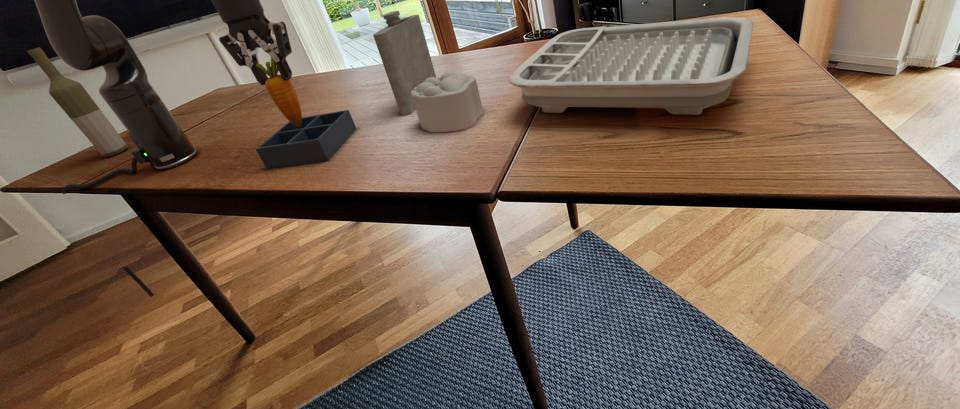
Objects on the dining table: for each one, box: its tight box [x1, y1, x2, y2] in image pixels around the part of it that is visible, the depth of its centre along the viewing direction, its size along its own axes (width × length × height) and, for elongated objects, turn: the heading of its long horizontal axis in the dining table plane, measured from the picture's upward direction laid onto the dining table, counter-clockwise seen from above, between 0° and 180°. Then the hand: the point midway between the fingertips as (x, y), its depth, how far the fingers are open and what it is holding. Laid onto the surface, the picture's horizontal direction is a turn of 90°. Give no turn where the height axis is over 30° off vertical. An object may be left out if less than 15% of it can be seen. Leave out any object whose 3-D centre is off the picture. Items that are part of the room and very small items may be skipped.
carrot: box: [256, 56, 303, 127], centre depth 85 cm, size 5×5×15 cm
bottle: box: [26, 47, 128, 158], centre depth 112 cm, size 7×7×30 cm
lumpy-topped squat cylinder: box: [411, 71, 484, 133], centre depth 81 cm, size 10×13×9 cm
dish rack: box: [508, 16, 754, 116], centre depth 74 cm, size 32×37×8 cm
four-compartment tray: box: [255, 109, 357, 170], centre depth 86 cm, size 14×14×5 cm
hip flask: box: [372, 10, 437, 116], centre depth 93 cm, size 16×4×20 cm, turn 156°
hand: (276, 81), depth 84 cm, fingers closed on carrot, 5 cm apart
